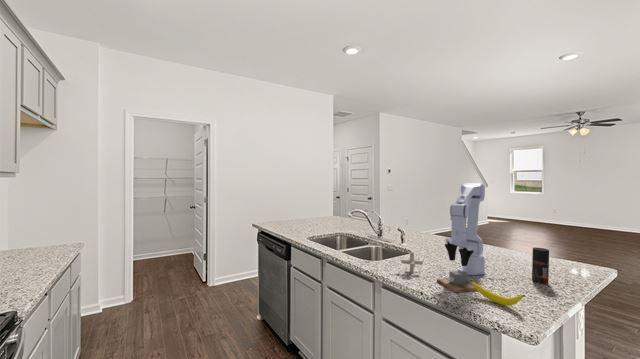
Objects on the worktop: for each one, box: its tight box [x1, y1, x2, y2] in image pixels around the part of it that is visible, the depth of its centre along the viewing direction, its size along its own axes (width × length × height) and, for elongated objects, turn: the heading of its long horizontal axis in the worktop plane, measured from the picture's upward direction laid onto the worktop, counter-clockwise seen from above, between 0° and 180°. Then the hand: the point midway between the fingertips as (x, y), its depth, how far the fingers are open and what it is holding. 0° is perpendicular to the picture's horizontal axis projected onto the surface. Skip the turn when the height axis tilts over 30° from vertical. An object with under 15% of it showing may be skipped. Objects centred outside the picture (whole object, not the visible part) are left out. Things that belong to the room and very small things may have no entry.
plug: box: [445, 270, 469, 285], centre depth 123 cm, size 9×4×4 cm, turn 102°
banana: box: [470, 281, 526, 307], centre depth 107 cm, size 3×19×6 cm, turn 32°
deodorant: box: [531, 246, 550, 286], centre depth 129 cm, size 6×6×15 cm
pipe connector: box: [400, 251, 424, 274], centre depth 140 cm, size 10×10×10 cm
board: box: [436, 277, 478, 293], centre depth 123 cm, size 12×12×1 cm
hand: (458, 262), depth 124 cm, fingers open, 7 cm apart
